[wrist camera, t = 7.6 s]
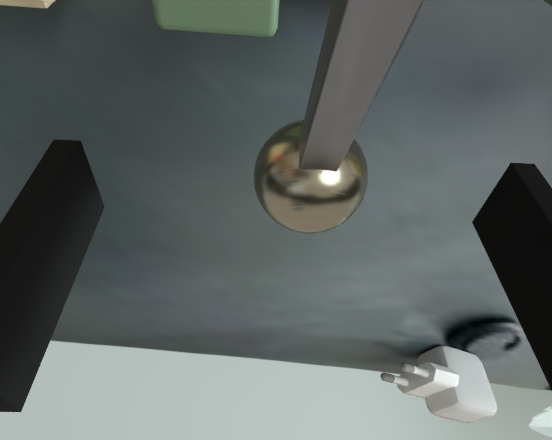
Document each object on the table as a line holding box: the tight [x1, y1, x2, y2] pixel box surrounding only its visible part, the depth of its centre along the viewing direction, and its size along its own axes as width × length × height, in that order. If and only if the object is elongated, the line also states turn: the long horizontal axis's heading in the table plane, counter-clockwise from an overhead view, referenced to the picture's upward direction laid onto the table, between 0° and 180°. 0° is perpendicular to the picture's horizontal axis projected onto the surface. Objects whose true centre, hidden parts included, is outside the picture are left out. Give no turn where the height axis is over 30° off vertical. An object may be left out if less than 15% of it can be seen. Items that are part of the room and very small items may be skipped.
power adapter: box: [381, 346, 497, 423], centre depth 37 cm, size 11×5×6 cm, turn 60°
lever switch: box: [254, 0, 425, 234], centre depth 8 cm, size 13×4×4 cm, turn 176°
